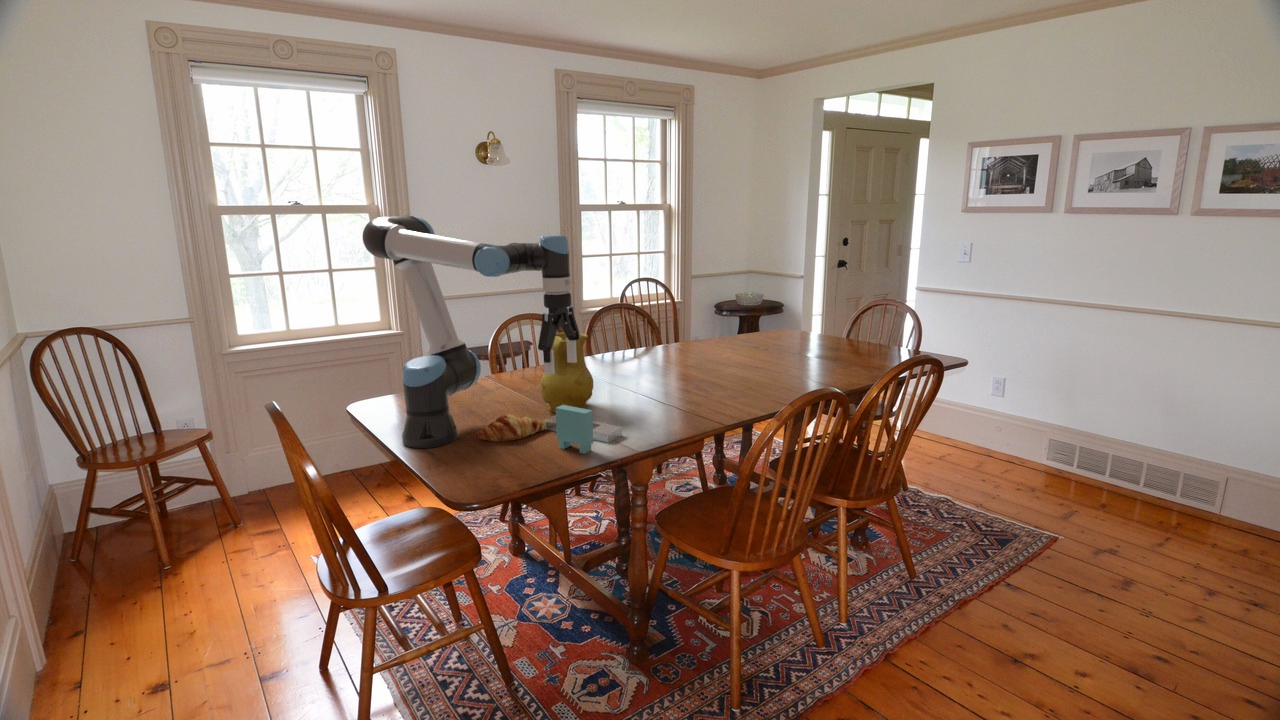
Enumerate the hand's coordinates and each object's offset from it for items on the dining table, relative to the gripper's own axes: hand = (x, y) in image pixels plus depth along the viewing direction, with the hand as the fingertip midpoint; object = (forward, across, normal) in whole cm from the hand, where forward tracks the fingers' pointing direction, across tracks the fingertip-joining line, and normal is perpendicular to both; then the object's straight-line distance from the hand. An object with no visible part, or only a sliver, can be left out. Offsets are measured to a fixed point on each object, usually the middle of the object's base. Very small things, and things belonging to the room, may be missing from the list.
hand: (561, 367), depth 183 cm
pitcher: (+21, +26, +12) cm, 35 cm away
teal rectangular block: (+21, -8, -7) cm, 23 cm away
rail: (+21, +6, -3) cm, 21 cm away
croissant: (+21, -4, +15) cm, 26 cm away
